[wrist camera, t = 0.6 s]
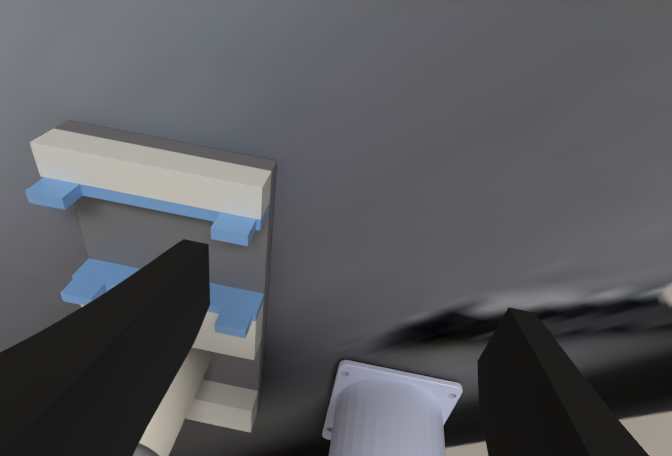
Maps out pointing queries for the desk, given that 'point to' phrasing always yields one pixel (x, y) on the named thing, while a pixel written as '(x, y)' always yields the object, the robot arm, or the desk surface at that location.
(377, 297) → the desk surface
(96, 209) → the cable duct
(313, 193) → the desk surface
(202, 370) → the cream round-ended cylinder
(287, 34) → the desk surface
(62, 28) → the desk surface
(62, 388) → the robot arm
